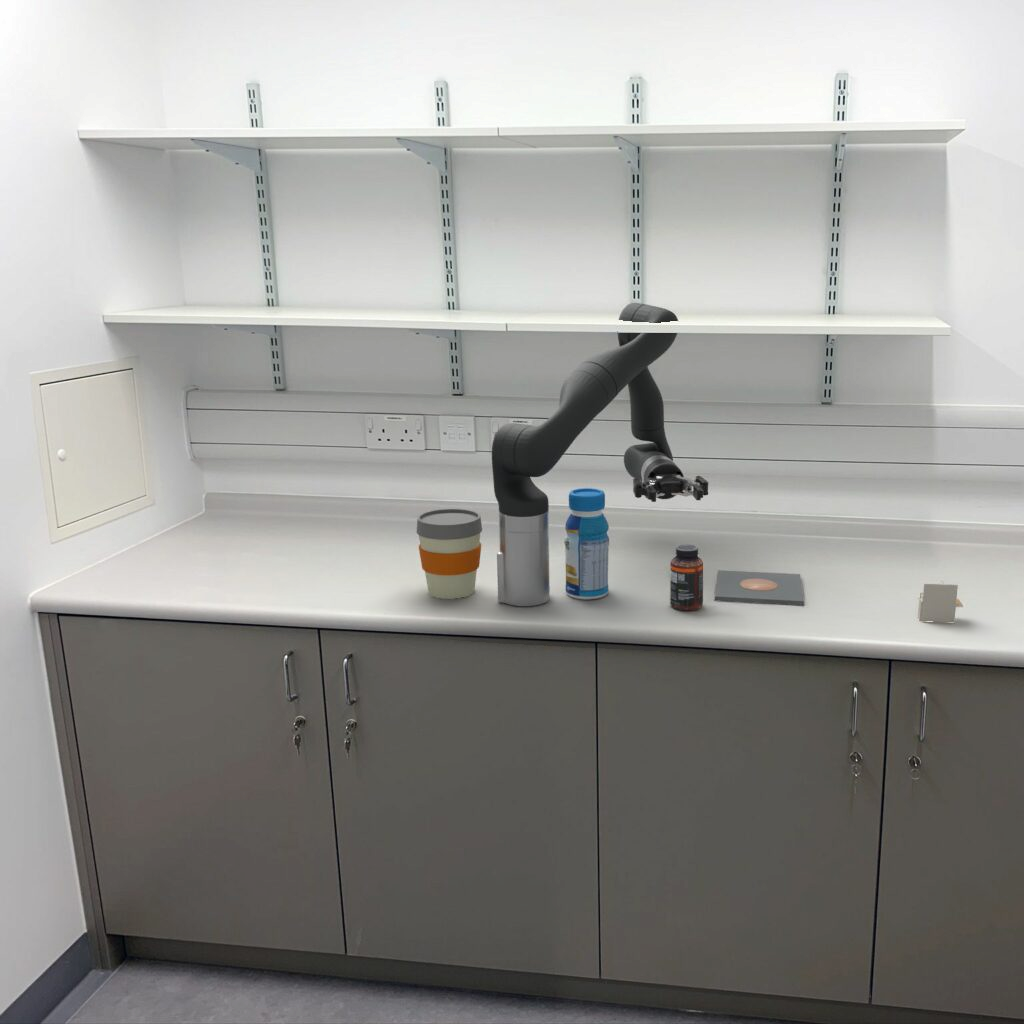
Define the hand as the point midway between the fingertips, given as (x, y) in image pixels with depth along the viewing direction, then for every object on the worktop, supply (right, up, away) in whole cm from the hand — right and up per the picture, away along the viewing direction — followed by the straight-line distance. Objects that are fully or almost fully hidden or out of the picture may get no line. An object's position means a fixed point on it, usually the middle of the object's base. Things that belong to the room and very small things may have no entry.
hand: (676, 496), depth 199 cm
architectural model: (+43, -23, -15) cm, 51 cm away
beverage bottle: (-17, -19, +2) cm, 25 cm away
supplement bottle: (+1, -21, -6) cm, 21 cm away
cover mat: (+16, -18, +2) cm, 24 cm away
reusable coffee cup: (-43, -19, +5) cm, 47 cm away
